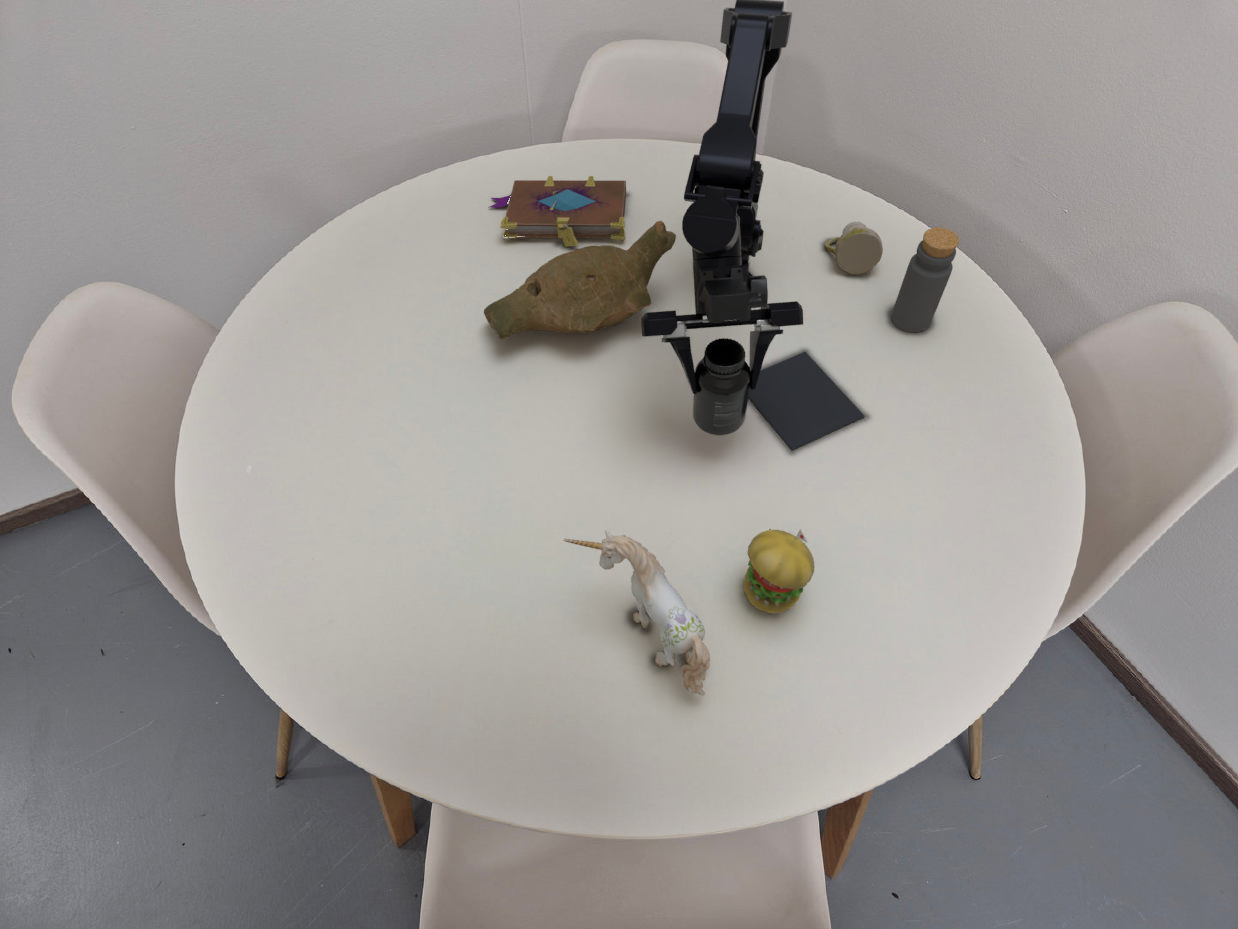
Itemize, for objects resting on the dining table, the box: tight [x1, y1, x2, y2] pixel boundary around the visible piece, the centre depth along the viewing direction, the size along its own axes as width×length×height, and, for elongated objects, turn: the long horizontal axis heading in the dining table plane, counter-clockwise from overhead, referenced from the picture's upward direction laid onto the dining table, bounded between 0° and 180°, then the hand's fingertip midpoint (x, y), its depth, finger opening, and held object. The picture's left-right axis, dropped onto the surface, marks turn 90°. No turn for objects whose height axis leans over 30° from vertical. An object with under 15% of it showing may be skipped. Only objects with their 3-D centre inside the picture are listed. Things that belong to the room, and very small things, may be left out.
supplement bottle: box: [692, 337, 751, 436], centre depth 94 cm, size 7×7×12 cm
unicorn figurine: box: [562, 529, 711, 697], centre depth 83 cm, size 7×20×13 cm, turn 46°
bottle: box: [891, 227, 960, 333], centre depth 110 cm, size 6×6×15 cm
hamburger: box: [742, 528, 815, 614], centre depth 86 cm, size 8×7×12 cm
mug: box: [824, 221, 884, 275], centre depth 122 cm, size 8×10×10 cm
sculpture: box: [483, 220, 677, 340], centre depth 115 cm, size 14×16×30 cm
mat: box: [748, 351, 865, 451], centre depth 107 cm, size 14×12×1 cm
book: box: [488, 175, 627, 247], centre depth 131 cm, size 16×25×5 cm, turn 87°
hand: (723, 391), depth 93 cm, fingers closed on supplement bottle, 7 cm apart
